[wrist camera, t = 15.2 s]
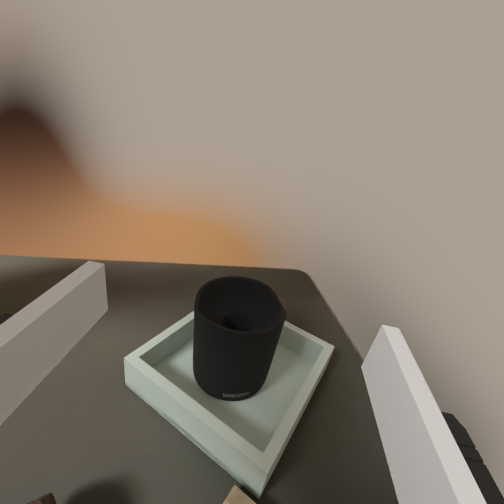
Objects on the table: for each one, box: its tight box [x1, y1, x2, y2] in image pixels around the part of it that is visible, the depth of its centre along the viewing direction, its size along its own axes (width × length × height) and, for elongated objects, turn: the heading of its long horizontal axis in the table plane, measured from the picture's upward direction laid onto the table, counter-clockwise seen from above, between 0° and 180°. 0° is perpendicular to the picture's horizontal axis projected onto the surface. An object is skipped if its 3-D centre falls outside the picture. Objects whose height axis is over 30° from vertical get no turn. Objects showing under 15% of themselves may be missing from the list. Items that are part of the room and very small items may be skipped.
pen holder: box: [193, 276, 286, 401], centre depth 31 cm, size 9×9×10 cm
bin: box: [124, 311, 335, 499], centre depth 33 cm, size 17×17×4 cm
